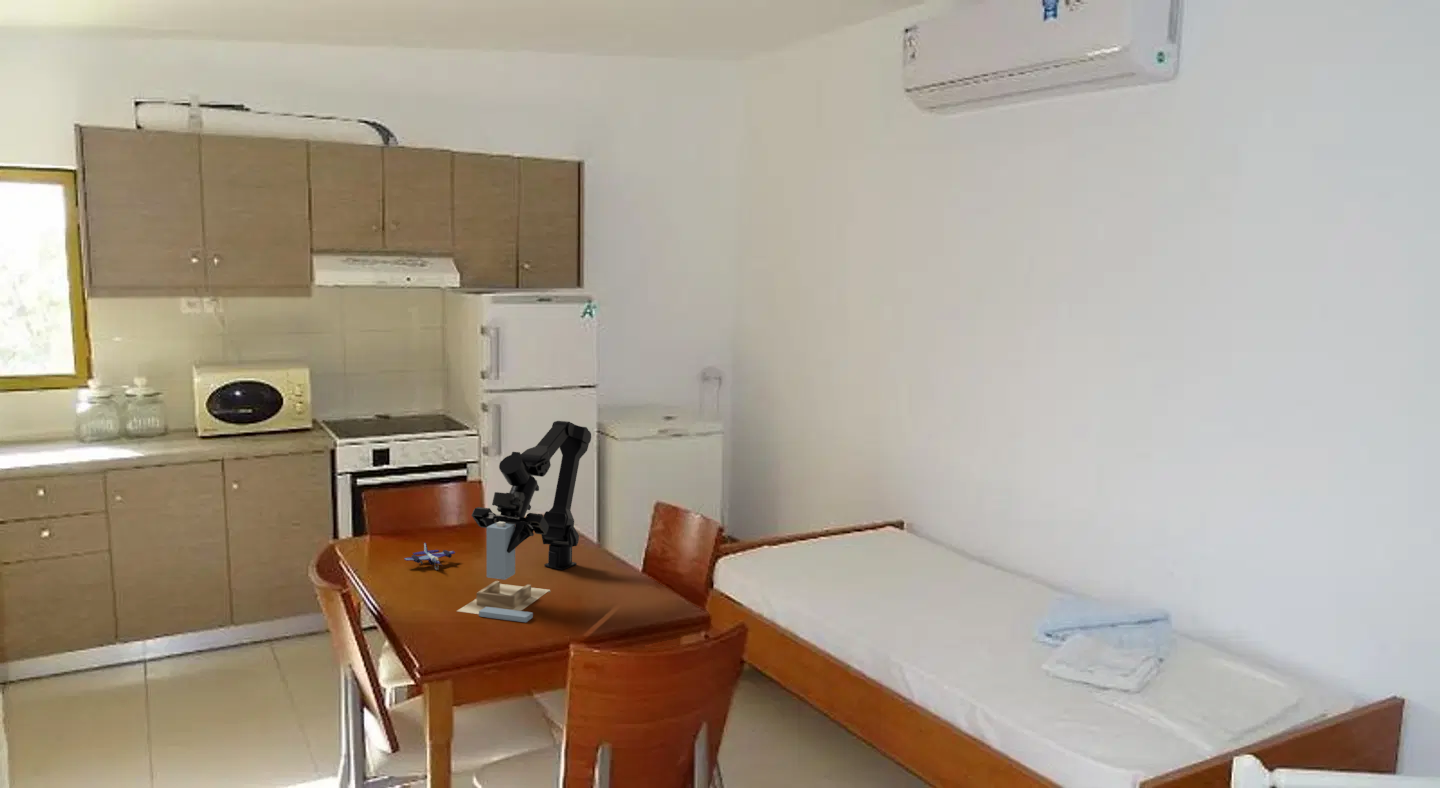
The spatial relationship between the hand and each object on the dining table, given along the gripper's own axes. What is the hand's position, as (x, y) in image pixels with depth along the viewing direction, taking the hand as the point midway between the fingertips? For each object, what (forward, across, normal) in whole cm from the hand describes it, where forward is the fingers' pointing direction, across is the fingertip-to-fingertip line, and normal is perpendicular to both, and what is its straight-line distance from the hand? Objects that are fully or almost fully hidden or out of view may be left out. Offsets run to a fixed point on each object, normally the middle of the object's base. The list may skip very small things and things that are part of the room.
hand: (498, 550), depth 249 cm
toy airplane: (-5, -32, +24) cm, 40 cm away
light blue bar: (+15, +7, +2) cm, 17 cm away
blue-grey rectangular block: (+4, 0, +6) cm, 7 cm away
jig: (+9, +1, +10) cm, 14 cm away
